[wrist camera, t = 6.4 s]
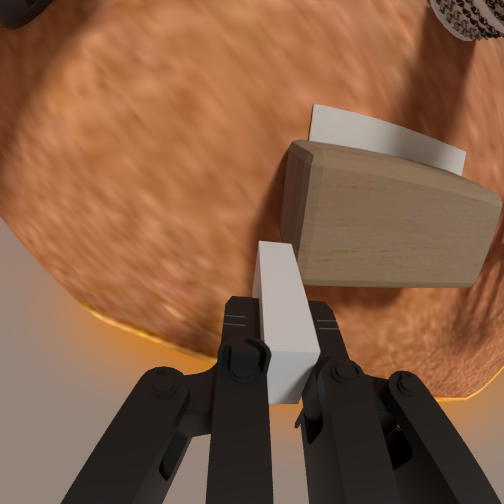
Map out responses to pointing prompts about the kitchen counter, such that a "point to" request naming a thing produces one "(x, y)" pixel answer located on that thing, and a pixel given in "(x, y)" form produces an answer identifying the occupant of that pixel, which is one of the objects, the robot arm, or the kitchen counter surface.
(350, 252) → the wooden block
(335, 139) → the mat
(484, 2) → the decorative candle
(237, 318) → the robot arm
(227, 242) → the kitchen counter surface
